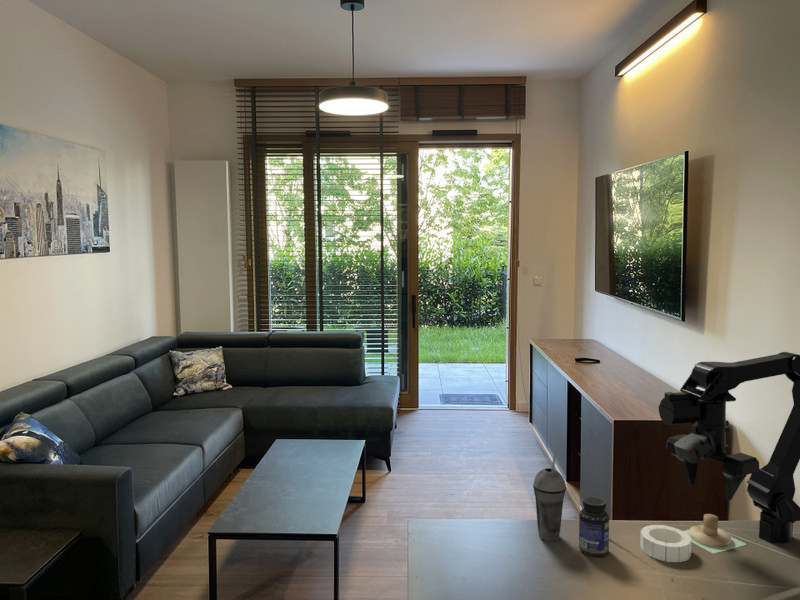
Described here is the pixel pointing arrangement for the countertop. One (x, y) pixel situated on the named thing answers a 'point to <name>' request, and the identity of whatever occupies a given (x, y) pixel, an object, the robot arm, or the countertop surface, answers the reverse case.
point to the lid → (710, 533)
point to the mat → (713, 550)
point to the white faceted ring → (665, 543)
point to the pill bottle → (594, 527)
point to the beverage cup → (549, 501)
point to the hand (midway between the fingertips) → (709, 492)
